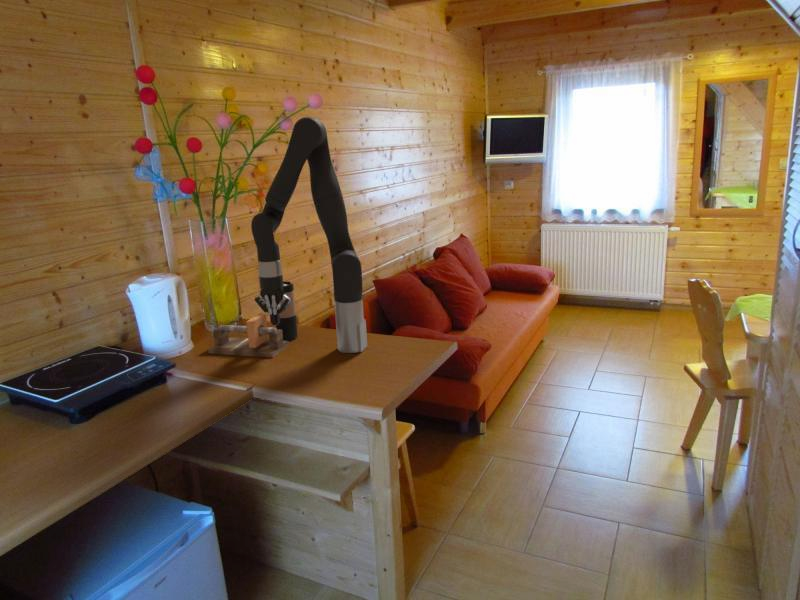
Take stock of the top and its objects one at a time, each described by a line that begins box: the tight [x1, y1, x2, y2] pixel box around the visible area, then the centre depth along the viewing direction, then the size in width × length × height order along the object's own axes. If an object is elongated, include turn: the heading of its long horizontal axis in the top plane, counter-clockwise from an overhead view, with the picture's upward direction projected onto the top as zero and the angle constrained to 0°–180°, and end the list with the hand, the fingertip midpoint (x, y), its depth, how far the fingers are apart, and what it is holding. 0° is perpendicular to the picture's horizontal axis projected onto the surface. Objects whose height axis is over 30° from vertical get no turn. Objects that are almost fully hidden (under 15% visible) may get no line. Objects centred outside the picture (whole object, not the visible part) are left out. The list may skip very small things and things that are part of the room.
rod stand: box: [207, 324, 290, 359], centre depth 192 cm, size 24×12×8 cm, turn 75°
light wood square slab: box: [246, 313, 269, 348], centre depth 190 cm, size 2×9×9 cm, turn 165°
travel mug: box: [275, 281, 298, 342], centre depth 200 cm, size 8×8×20 cm
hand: (275, 324), depth 187 cm, fingers closed
